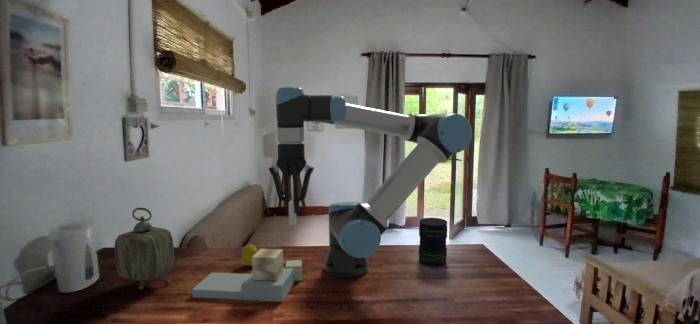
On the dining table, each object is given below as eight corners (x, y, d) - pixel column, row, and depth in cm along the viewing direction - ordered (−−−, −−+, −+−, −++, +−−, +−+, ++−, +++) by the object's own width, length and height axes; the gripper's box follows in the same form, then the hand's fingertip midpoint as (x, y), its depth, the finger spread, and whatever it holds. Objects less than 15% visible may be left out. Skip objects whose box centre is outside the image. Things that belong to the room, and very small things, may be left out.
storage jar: (450, 260, 134) (451, 219, 132) (441, 269, 126) (442, 226, 124) (424, 254, 139) (424, 216, 138) (414, 263, 131) (414, 222, 129)
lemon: (254, 269, 127) (253, 247, 126) (239, 268, 128) (238, 246, 127) (261, 263, 132) (260, 241, 131) (246, 262, 133) (245, 241, 132)
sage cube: (301, 274, 123) (301, 259, 122) (302, 280, 118) (301, 265, 118) (286, 275, 122) (286, 260, 122) (286, 281, 117) (285, 266, 117)
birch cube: (283, 271, 113) (282, 249, 113) (276, 281, 106) (275, 257, 106) (261, 270, 114) (260, 248, 113) (253, 280, 107) (252, 257, 106)
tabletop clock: (176, 283, 117) (171, 205, 114) (154, 296, 108) (148, 213, 105) (139, 278, 121) (133, 203, 118) (114, 290, 112) (108, 210, 109)
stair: (294, 283, 116) (293, 268, 116) (282, 301, 104) (282, 285, 104) (212, 279, 119) (211, 265, 119) (192, 297, 107) (191, 281, 107)
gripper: (316, 142, 108) (317, 220, 110) (273, 142, 109) (275, 219, 112) (310, 143, 100) (312, 228, 103) (264, 143, 102) (266, 226, 105)
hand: (292, 223), depth 108 cm, fingers closed
